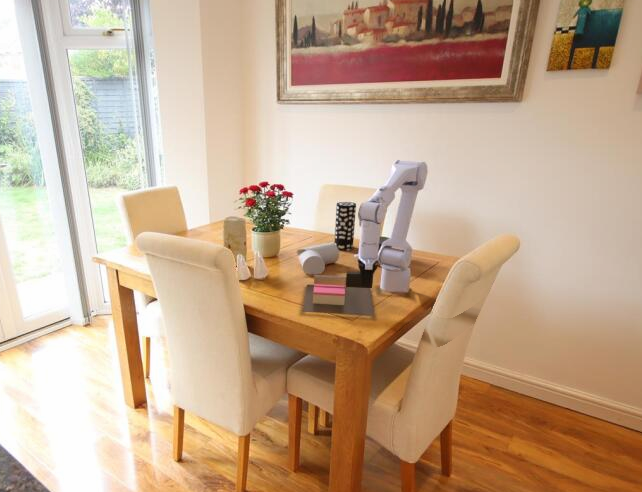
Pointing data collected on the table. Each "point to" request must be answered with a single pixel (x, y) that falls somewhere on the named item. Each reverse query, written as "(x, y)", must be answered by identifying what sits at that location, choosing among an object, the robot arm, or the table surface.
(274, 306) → the table surface
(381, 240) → the ceramic cup
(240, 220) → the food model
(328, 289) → the cake slice
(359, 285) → the grey and black bar
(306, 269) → the bent grey cylinder
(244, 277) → the shaker set
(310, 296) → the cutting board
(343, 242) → the spotted tube
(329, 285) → the cake
